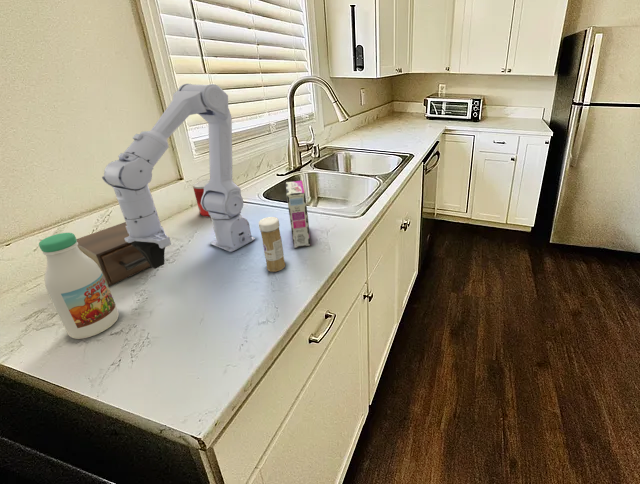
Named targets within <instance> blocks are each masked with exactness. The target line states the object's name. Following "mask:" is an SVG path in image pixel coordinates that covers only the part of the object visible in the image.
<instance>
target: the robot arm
mask: <svg viewBox="0 0 640 484" xmlns="http://www.w3.org/2000/svg"><path fill="white" fill-rule="evenodd" d="M192 115H199V116H200V117H201V118H202V119H203V120H204V121H206V122H207V124H208V125H207V127H208V157H209V159H208V161H209V179H210V181H209V183H207V184H206V185H205V186H204V193H203V196H202V199H201V205H202V208H203V209H204V210H206V211H208V213H209V215H210V216H211V217H210V219H211V224H212V227H213V232H214V237H215V240H212V241H211V242H210V245H212V246H214V247H217V248H219V249H222V250H225V251H227V252H229V253H232V252H234V251H236V250H238V249H240V248H242V247H244V246H246V245H247V244H249V243H252V242H254V241H255V240H256V238H255V237H254V236H252V231H251V228H250V223H249V221H248V219H246V218H245V217H243V215H242V214H241V213H242V211H243V208H244V198H243V196H242V193H241V191H242V190H241V188H240V187H239V186H238V185H237V184H236V183H235V181H234V180H233V179H234V178H233V124H232V123H233V122H232V120H233V119H232V114H231V112H230V108H229V94H227V93H226V91H224V89H223V88H222V87H220V86H219V85H218V84H216V83H209V84H199V83H198V84H196V83H195V84H193V83H183V84H182V85H180V86H179V88H178V90H176V91H175V92H174V93H173V94H172V100H171V101H170V103H169V104H168V106H167V107H166V109H165V110H164V111H163V113H162V114H161V115H160V117H159V118H158V120H157V121H156V123H155V124H154V126H153V127H152V128H151V129H150V130H144V131H143V130H142V131H141V132H140V133H135V134H134V135H133V136H132V139H133V141H132V142H131V143H130V145H128V147H127V148H126V149H125V150H124V151H123V152H120V154H119V155H118V156H117V157H118V159H116V160H114V161H111V162H108V164H106V166H105V168H104V170H103V172H104V173H103V175H102V176H101V178H102V180H103V182H104V183H105V184H106V185H108V186H110V187H112V189H113V191H114V194H115V197H116V200H117V202H118V206H119V209H120V211H121V213H122V216H123V219H124V222H126V225H127V226H126V229H127V232H128V233H129V236H128V237H126V238H124V239H125V241H126V242H128V243H131V242H132V243H131V245H132V246H134V247H135V248H136V249H137V250H139V251H140V252H141V254H142V255H143V256H144V257H145V259H146V260H147V262H148V263H149V264H150V266H151V268H152V269H154V270H156V269H158V268H161V267H162V266H164V265H165V250H166V247H169V246H171V245H172V242H171V239H170V236H169V235H167V234H166V231H165V229H164V227H163V225H162V224H161V221H160V218H159V215H158V211H157V208H156V205H155V201H154V199H153V196H152V195H153V194H152V192H151V189H150V186H149V183H151V181H152V180H153V170H154V167H155V166H156V164H157V163H158V162H159V161H160V160H161V158H162V157H163V156H164V155H165V153H166V152H167V150H168V149H169V148H170V147H169V142H168V140H169V138H170V137H171V136H172V135H173V134H174V133H175V131H177V130H178V128H179V127H181V125H182V124H183V123H184V122H185V121H186V120H187V119H188V117H189V116H192ZM133 241H134V242H133Z"/></svg>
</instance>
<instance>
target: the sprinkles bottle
mask: <svg viewBox="0 0 640 484" xmlns="http://www.w3.org/2000/svg"><path fill="white" fill-rule="evenodd" d="M258 228H259V231H260V233H261V239H262V246H263V253H264V258H265V262H266V270H267V271H268V272H270V273H275V272H276V273H277V272H279V271H280V272H281V270H283V269H284V268H285V267H286V262H285V255H284V253H285V252H284V247H283V242H282V241H283V240H282V236H281V231H280V221H279V218H278V217H275V216H267V217H264V218H261V219H260V220H259V221H258Z"/></svg>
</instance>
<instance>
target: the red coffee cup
mask: <svg viewBox="0 0 640 484" xmlns="http://www.w3.org/2000/svg"><path fill="white" fill-rule="evenodd" d="M209 181H210V178H209V179H202V180H198V181H196V182H194V183H193V184H192V188H193V192H194V196H195V200H196V205H197V207H198V211H199V212H198V213H199V214H200V215H201V216H202V217H204V218H205V217H206V218H208V217H209V218H211V216H210V215H209V213H208V211H206V210H204V209H203V208H202V205H201V204H200V203H201V199H202V196H203V193H204V186H205V185H206V184H207V183H209Z"/></svg>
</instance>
